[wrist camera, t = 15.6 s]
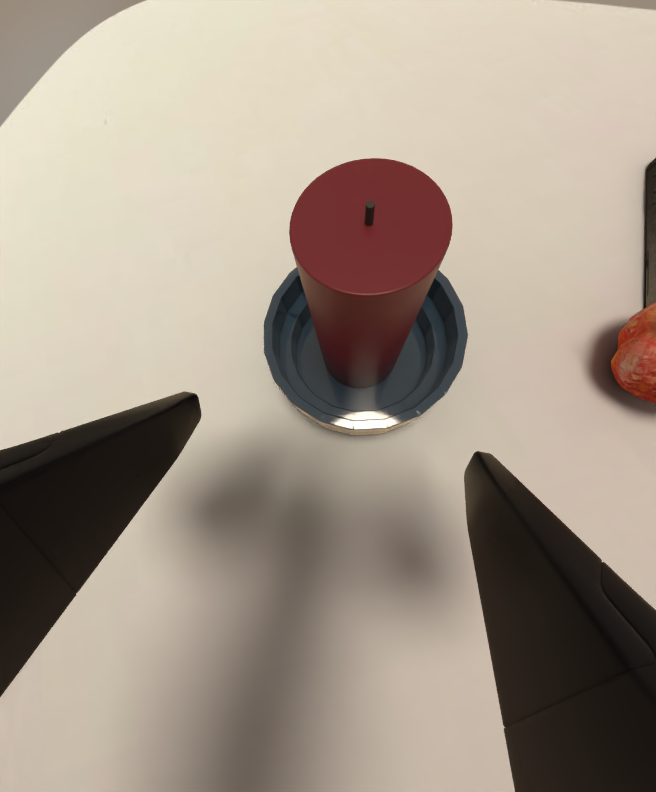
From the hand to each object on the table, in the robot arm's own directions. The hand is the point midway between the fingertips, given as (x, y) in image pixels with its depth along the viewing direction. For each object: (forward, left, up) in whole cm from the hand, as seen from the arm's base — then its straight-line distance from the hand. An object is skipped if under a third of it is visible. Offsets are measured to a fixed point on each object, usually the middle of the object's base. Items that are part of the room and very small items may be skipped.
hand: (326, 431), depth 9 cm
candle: (+6, +5, -12) cm, 14 cm away
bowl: (+6, +5, -12) cm, 14 cm away
